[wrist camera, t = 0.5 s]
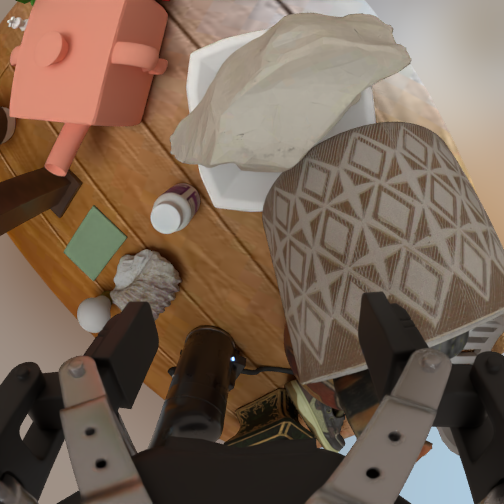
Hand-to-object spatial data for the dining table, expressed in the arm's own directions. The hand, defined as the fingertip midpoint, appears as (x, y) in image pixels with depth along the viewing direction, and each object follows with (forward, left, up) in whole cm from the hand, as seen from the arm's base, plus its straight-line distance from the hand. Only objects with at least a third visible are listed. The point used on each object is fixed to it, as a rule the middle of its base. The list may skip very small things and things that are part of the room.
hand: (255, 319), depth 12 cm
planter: (-5, -7, -21) cm, 23 cm away
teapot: (+27, +7, -37) cm, 46 cm away
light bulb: (+5, +36, -37) cm, 52 cm away
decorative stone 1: (+9, -8, -23) cm, 26 cm away
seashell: (+2, +27, -37) cm, 46 cm away
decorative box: (-36, +32, -37) cm, 61 cm away
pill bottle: (+6, +12, -37) cm, 39 cm away
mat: (+13, +30, -37) cm, 49 cm away
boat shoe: (-41, +28, -31) cm, 59 cm away
